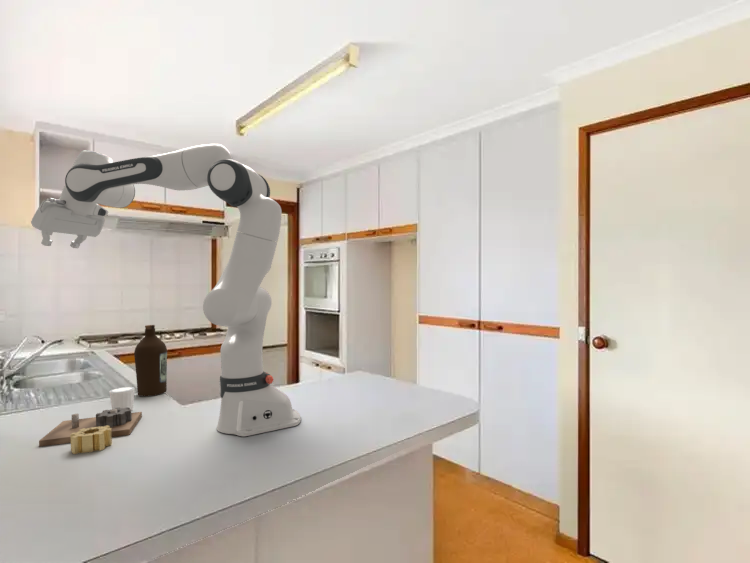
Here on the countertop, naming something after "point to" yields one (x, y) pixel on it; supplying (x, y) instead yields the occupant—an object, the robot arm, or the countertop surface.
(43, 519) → the countertop surface
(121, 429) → the gear board
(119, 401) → the white short cylinder
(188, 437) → the countertop surface
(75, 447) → the brass gear
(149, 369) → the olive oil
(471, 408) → the countertop surface
